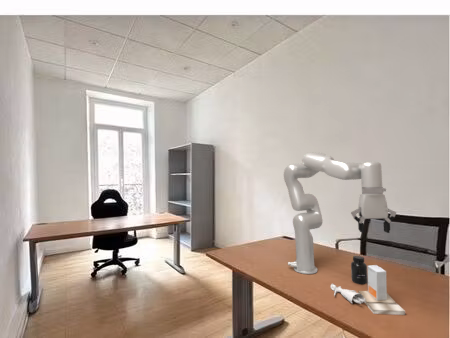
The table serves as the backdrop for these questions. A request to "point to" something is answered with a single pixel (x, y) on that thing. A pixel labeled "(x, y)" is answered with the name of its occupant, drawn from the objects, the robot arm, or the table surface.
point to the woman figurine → (349, 294)
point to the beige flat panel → (371, 299)
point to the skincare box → (377, 282)
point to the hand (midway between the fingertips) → (374, 232)
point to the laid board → (386, 308)
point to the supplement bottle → (359, 270)
